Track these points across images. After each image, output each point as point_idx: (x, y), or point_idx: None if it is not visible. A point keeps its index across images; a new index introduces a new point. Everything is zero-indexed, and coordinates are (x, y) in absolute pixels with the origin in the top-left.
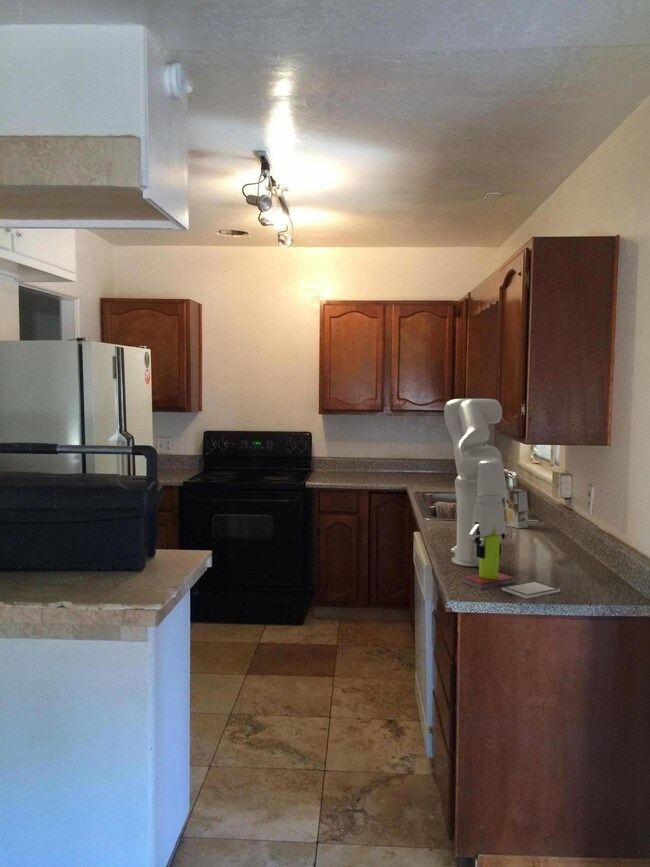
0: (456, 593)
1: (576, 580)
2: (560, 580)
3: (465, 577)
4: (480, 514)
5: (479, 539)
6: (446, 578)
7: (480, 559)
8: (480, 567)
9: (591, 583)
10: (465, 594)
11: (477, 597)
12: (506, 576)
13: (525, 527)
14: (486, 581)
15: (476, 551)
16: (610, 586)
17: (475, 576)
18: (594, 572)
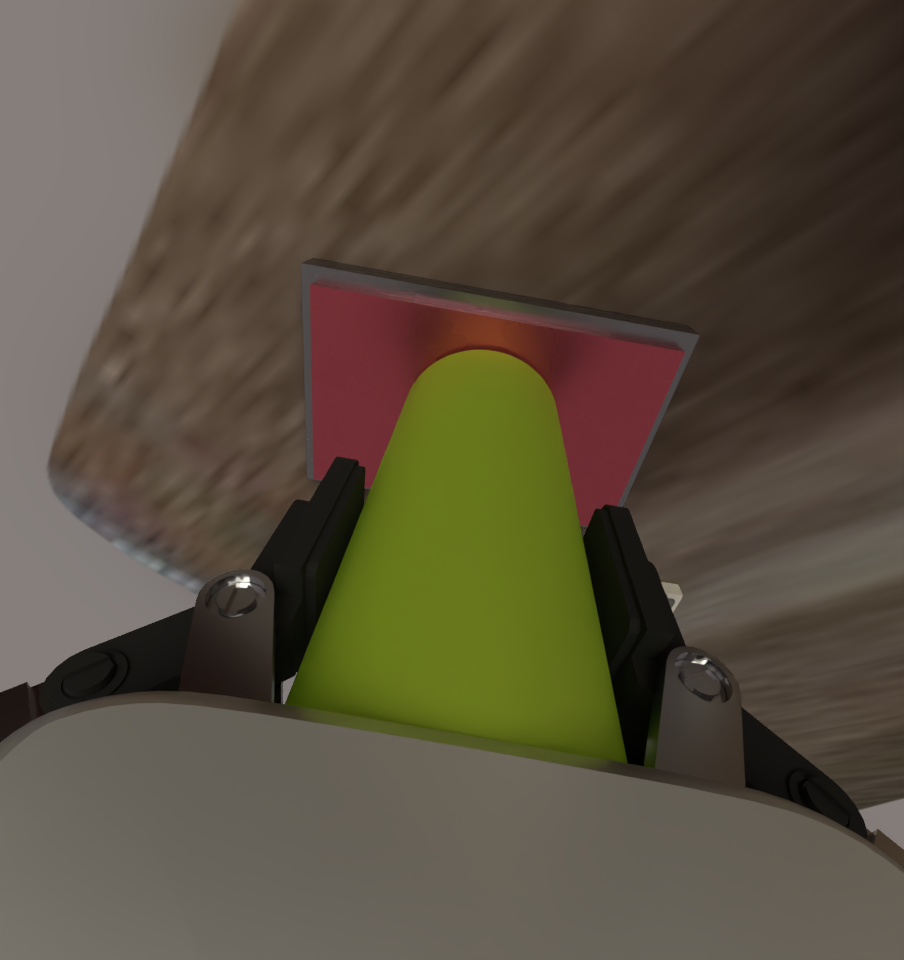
0: (120, 419)
1: (894, 673)
2: (845, 632)
3: (310, 306)
4: None
5: (267, 673)
6: (268, 37)
7: (376, 474)
8: (391, 436)
9: (864, 721)
10: (164, 463)
11: (198, 529)
12: (593, 495)
13: None
14: (369, 480)
15: (282, 520)
16: (850, 766)
17: (402, 348)
18: None
